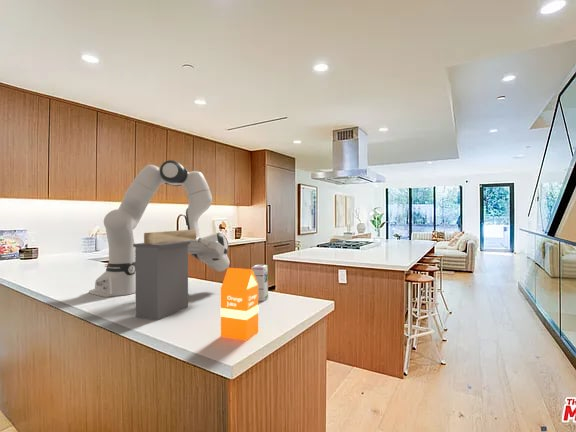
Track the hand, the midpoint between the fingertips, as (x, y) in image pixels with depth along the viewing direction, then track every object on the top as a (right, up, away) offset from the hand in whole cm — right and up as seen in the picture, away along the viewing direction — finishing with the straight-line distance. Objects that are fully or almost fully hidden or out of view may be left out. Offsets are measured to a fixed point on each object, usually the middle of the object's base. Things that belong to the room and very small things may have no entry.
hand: (190, 239), depth 133 cm
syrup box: (+29, -26, +3) cm, 39 cm away
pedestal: (-6, -26, -15) cm, 31 cm away
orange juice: (+27, -26, -37) cm, 53 cm away
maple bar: (-4, 0, -10) cm, 11 cm away
